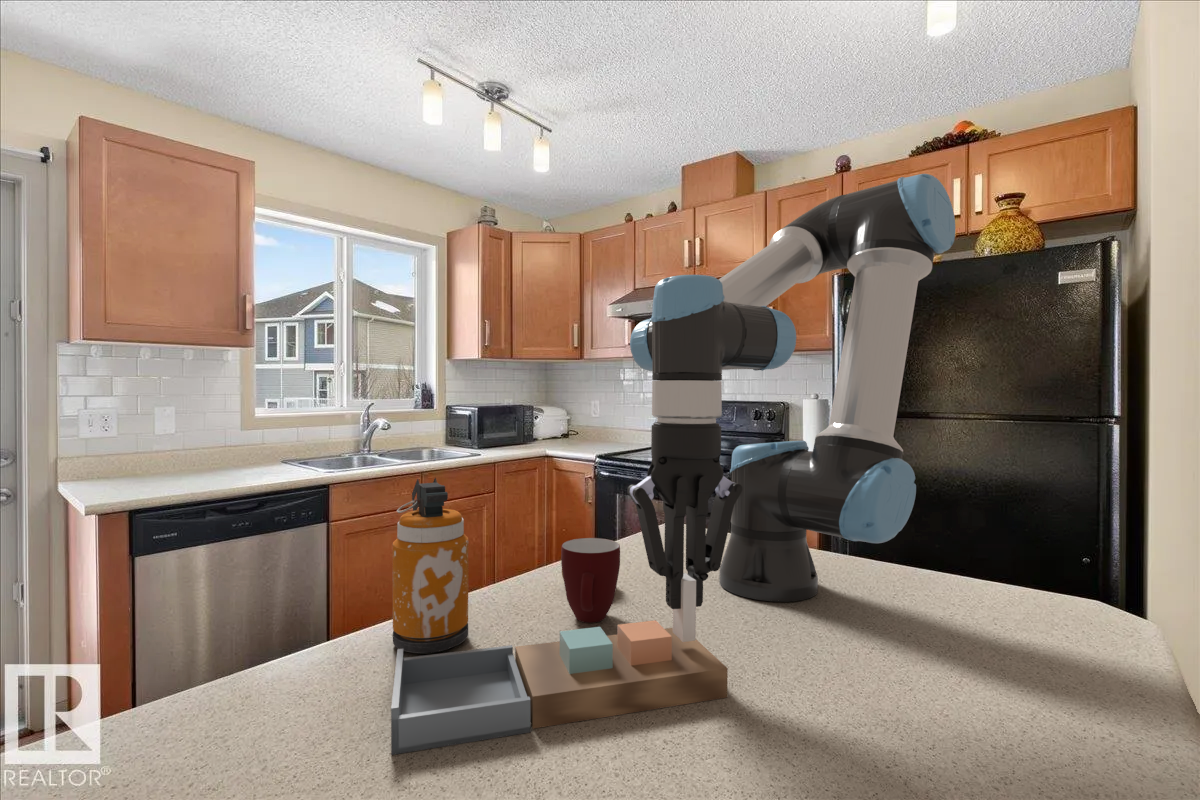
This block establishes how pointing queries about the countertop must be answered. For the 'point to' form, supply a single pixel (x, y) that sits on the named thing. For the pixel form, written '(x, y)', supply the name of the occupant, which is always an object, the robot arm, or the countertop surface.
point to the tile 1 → (586, 650)
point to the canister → (430, 574)
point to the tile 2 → (644, 642)
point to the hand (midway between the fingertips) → (683, 636)
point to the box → (457, 699)
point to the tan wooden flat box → (616, 683)
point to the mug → (590, 576)
